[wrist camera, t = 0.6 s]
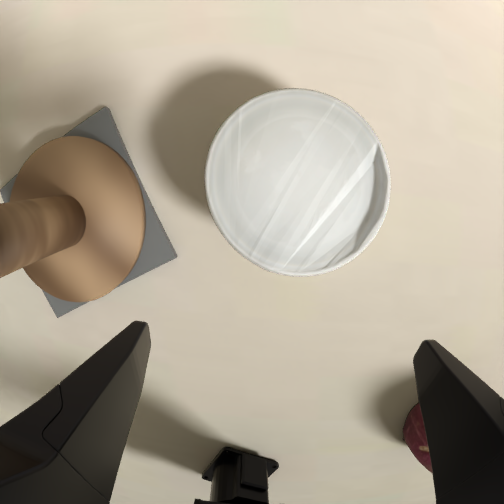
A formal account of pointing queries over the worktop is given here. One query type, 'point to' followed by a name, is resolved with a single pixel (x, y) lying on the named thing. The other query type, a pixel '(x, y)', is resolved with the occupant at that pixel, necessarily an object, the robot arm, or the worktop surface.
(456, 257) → the worktop surface
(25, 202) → the walnut lid
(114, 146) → the rubber mat
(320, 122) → the ramekin
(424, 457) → the vegetable
